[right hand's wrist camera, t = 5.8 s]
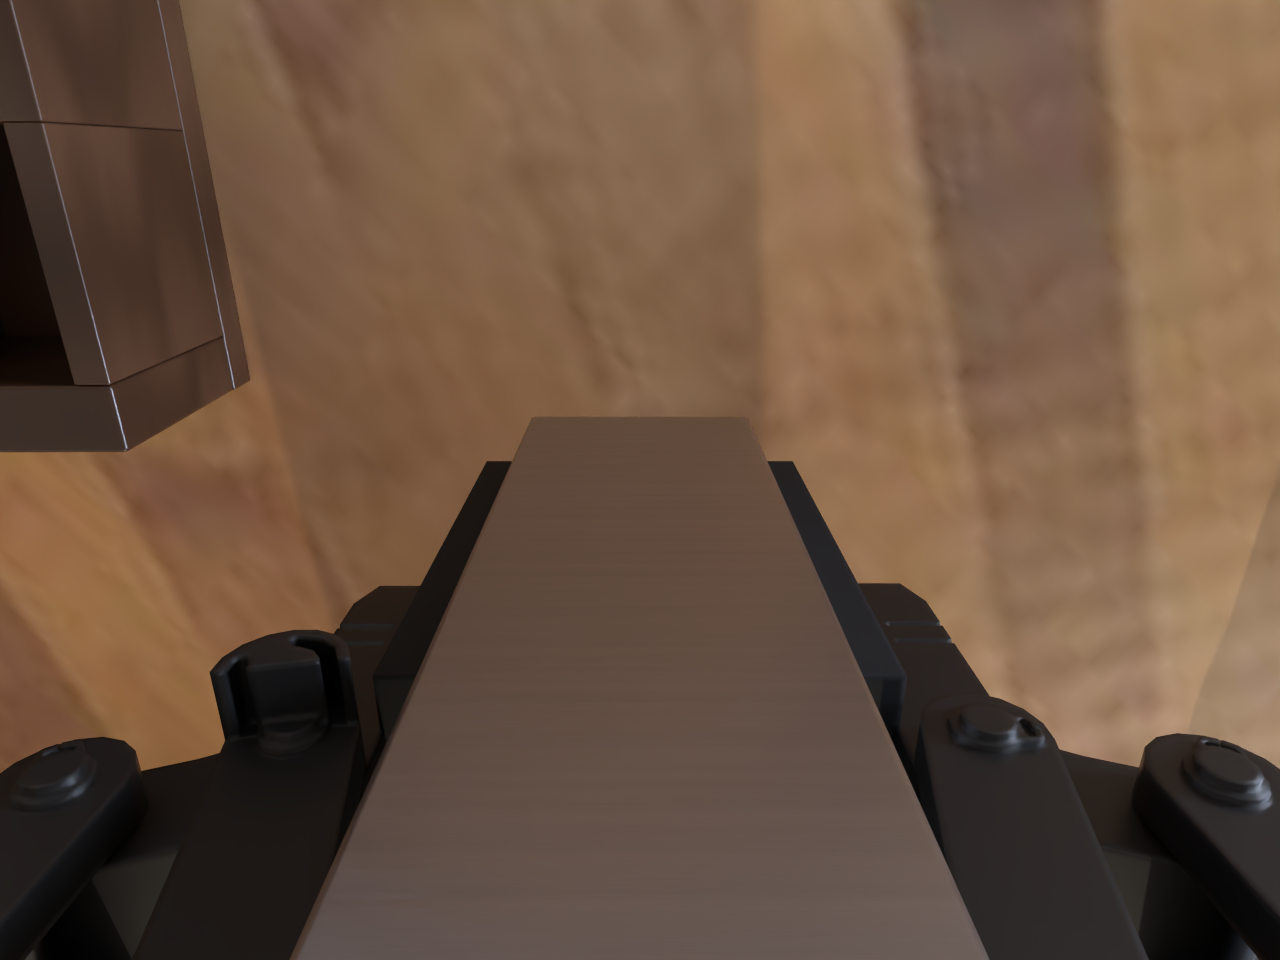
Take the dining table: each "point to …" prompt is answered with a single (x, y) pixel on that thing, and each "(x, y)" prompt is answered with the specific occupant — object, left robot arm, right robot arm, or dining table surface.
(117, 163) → the socket block
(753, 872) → the peg
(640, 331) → the dining table surface
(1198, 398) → the dining table surface
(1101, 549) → the dining table surface
